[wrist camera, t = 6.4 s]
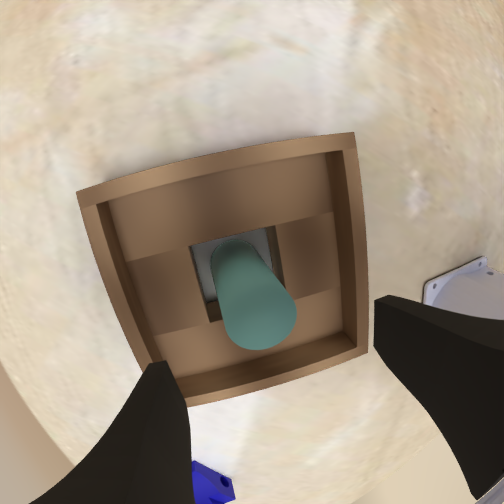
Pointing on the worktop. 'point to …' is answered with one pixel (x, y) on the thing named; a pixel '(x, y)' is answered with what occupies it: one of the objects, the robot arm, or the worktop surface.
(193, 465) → the cable clip
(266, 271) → the peg
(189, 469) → the robot arm
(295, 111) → the worktop surface
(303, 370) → the peg box
